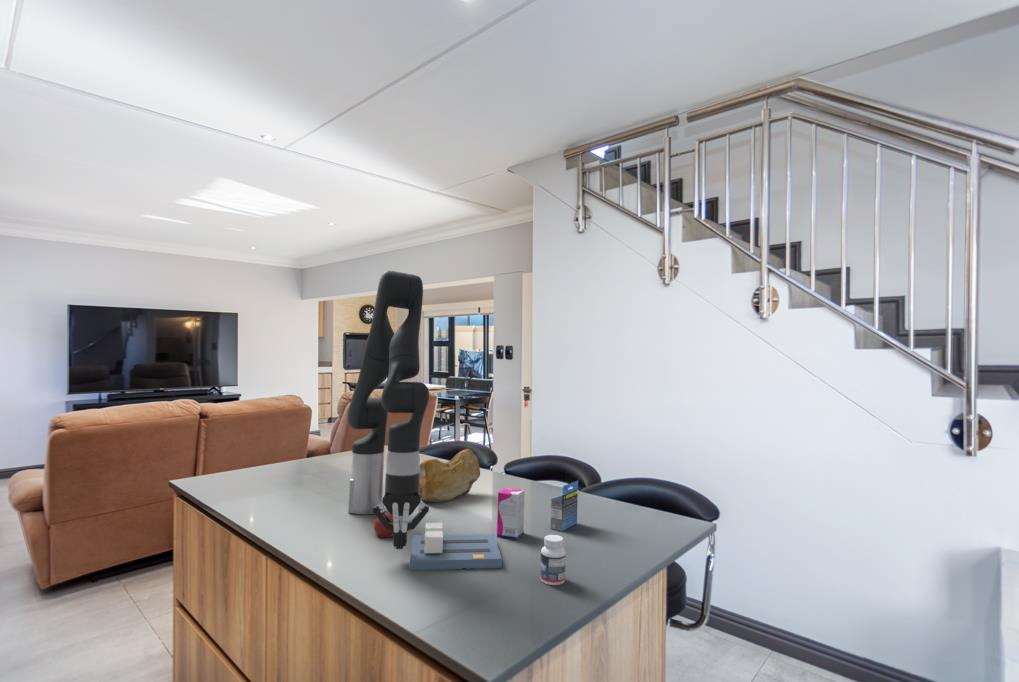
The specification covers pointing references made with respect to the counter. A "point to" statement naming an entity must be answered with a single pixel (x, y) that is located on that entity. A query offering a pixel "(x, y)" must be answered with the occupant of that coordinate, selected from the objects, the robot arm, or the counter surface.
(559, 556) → the pill bottle
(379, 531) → the red bulb syringe
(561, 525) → the label tape cartridge
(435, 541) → the near tab
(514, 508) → the supplement box
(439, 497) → the stone
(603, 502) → the counter surface
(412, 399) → the robot arm
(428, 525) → the far tab
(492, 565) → the switch panel
